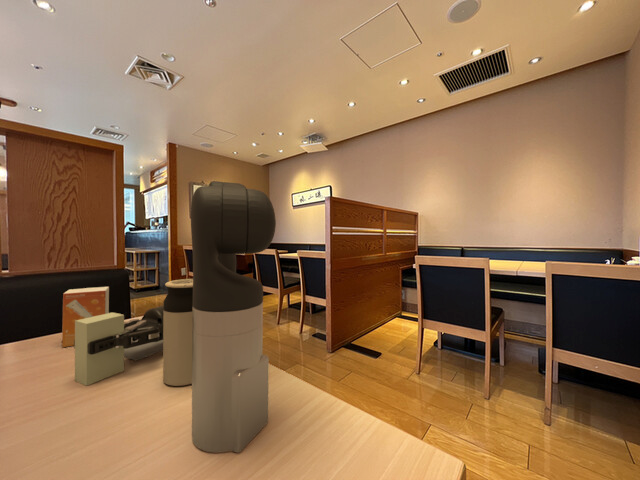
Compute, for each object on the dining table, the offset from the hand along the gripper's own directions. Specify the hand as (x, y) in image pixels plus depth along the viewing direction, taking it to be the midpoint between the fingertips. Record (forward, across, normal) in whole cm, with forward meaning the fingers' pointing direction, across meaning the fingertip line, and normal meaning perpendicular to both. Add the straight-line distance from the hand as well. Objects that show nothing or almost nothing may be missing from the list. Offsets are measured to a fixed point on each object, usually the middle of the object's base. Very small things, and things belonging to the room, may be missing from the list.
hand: (82, 346), depth 47 cm
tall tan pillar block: (-3, 0, +6) cm, 7 cm away
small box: (-11, -23, +7) cm, 26 cm away
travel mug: (-10, +15, +7) cm, 19 cm away
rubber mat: (-15, -8, +6) cm, 18 cm away
